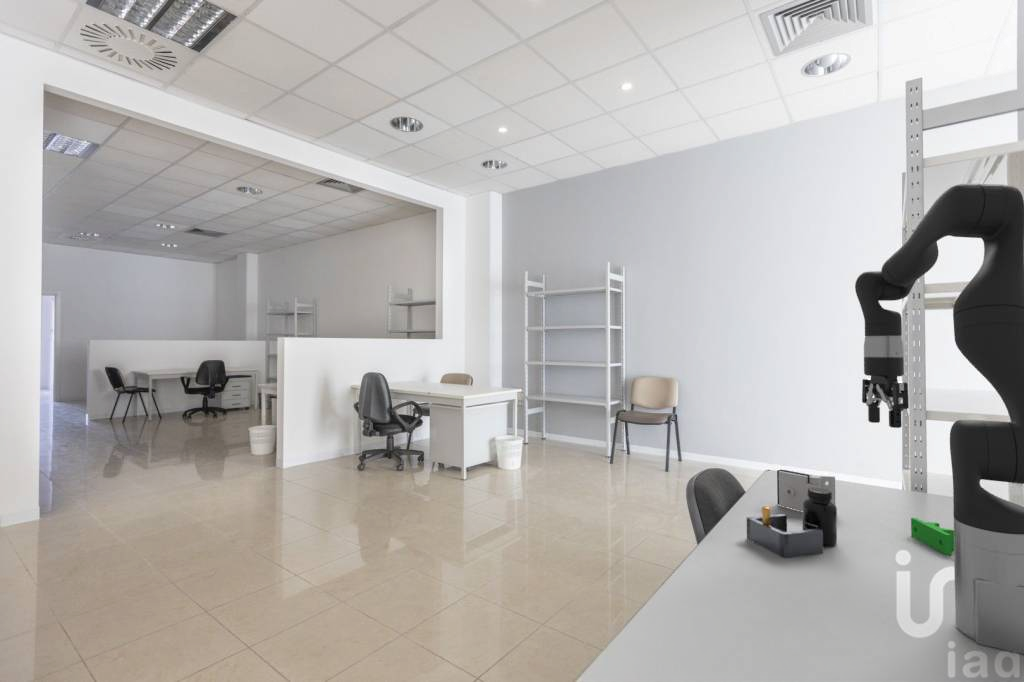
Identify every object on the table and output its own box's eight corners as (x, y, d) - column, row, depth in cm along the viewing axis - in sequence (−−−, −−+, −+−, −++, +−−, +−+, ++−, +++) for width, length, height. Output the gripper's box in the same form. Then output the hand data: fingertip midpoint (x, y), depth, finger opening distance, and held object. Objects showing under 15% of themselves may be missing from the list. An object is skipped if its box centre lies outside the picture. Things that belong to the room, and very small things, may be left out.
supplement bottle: (803, 544, 115) (802, 491, 115) (802, 534, 121) (801, 484, 121) (838, 549, 112) (838, 495, 112) (835, 539, 118) (835, 488, 118)
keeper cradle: (783, 534, 121) (782, 497, 121) (823, 553, 110) (822, 511, 110) (746, 538, 118) (745, 500, 119) (783, 558, 107) (782, 515, 108)
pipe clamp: (964, 556, 108) (964, 535, 109) (945, 556, 109) (945, 534, 109) (928, 537, 120) (927, 517, 120) (911, 536, 120) (910, 517, 120)
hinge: (836, 513, 137) (835, 476, 137) (832, 518, 133) (832, 480, 133) (779, 503, 146) (779, 468, 146) (774, 508, 142) (774, 472, 142)
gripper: (920, 355, 110) (921, 430, 110) (883, 355, 125) (884, 421, 124) (883, 355, 112) (884, 429, 111) (850, 355, 126) (851, 420, 125)
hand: (884, 424), depth 118 cm, fingers open, 8 cm apart
